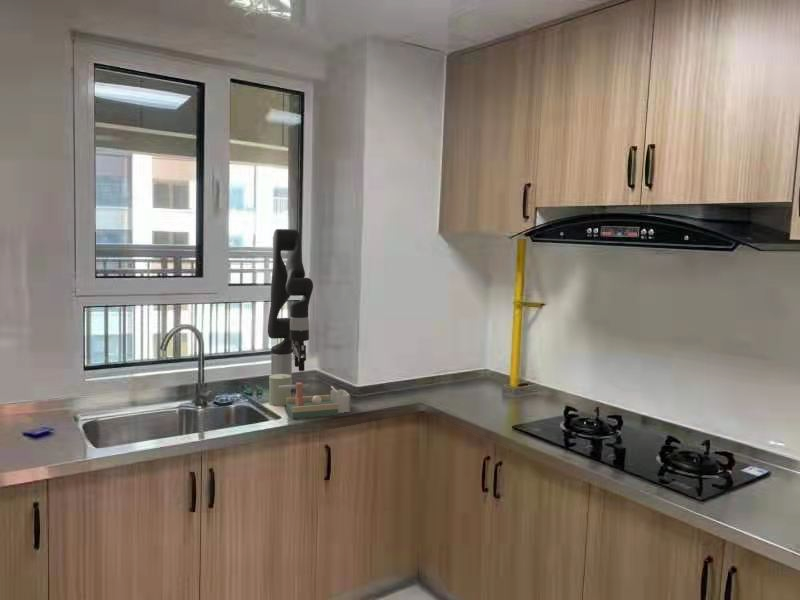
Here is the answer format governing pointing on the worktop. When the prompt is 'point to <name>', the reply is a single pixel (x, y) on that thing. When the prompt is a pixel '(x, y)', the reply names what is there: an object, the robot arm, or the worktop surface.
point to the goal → (340, 400)
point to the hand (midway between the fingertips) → (299, 368)
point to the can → (276, 394)
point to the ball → (316, 400)
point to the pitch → (311, 407)
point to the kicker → (297, 392)
